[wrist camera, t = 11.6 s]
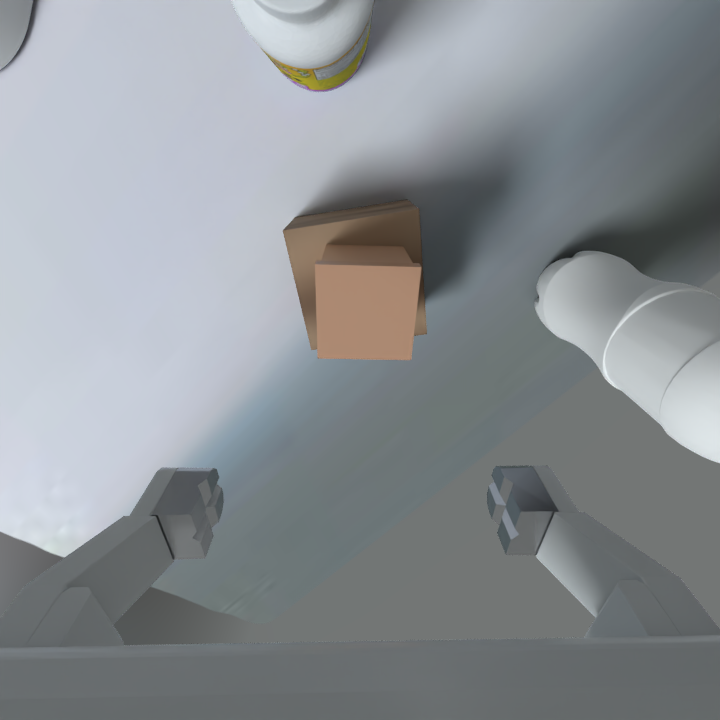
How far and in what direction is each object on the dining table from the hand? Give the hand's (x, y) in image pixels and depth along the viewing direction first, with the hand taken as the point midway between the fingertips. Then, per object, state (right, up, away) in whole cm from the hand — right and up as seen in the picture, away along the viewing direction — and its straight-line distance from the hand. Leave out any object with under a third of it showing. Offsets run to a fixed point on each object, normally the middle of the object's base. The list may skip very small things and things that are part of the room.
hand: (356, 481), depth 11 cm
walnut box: (0, +12, +20) cm, 24 cm away
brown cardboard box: (0, +9, +15) cm, 17 cm away
